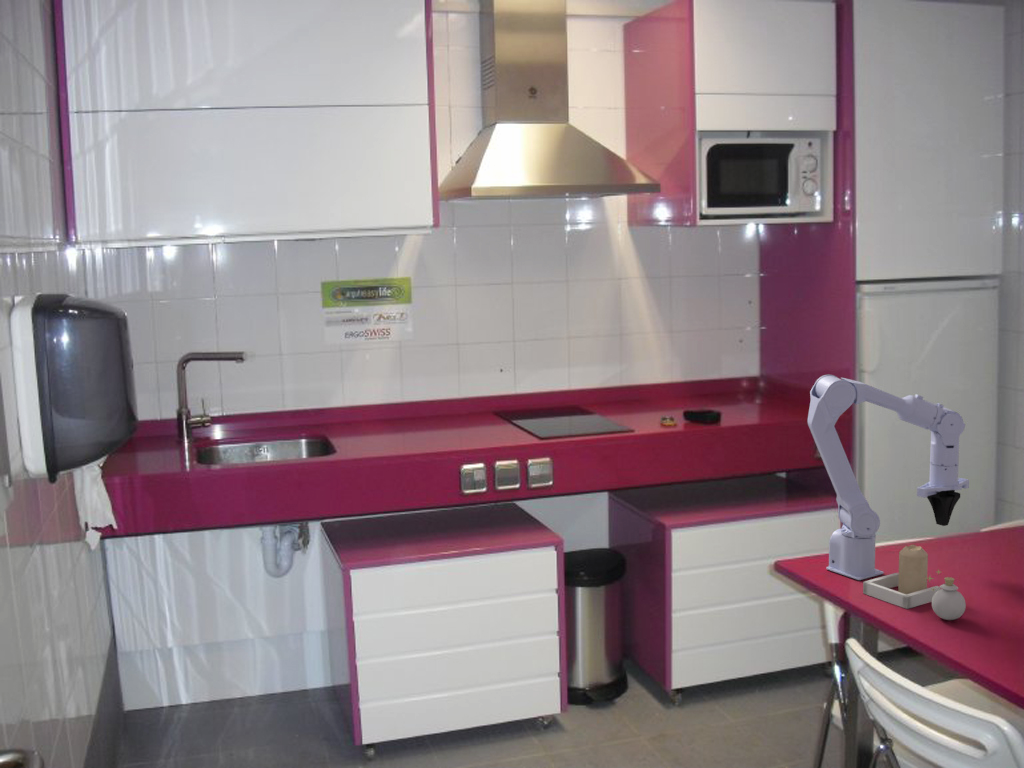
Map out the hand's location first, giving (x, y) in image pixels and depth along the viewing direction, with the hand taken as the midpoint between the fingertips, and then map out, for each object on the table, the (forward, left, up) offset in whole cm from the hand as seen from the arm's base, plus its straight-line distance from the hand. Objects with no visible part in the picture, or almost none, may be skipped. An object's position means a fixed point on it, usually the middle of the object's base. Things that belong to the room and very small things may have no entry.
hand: (942, 524), depth 227 cm
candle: (+6, -17, -11) cm, 21 cm away
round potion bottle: (+19, -23, -11) cm, 32 cm away
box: (+6, -19, -10) cm, 22 cm away
